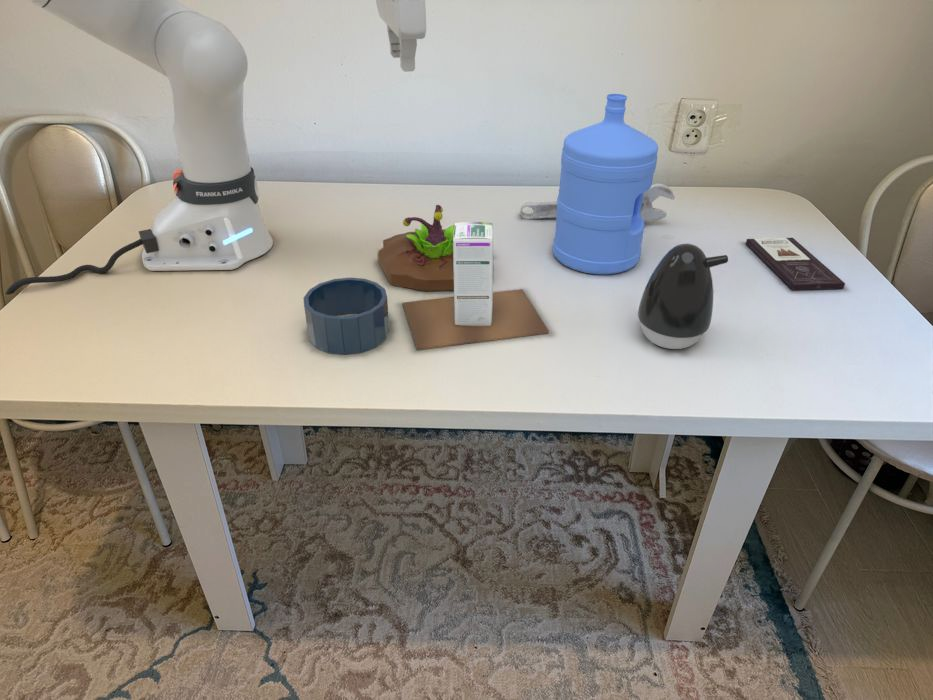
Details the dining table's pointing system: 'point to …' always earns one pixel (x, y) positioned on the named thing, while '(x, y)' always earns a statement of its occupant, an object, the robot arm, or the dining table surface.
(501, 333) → the brown flat rectangular board
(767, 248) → the chocolate bar
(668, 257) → the pump dispenser
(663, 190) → the wrench
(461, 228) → the syrup box
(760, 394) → the dining table surface
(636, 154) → the water jug
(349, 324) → the pipe section
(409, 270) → the plant
